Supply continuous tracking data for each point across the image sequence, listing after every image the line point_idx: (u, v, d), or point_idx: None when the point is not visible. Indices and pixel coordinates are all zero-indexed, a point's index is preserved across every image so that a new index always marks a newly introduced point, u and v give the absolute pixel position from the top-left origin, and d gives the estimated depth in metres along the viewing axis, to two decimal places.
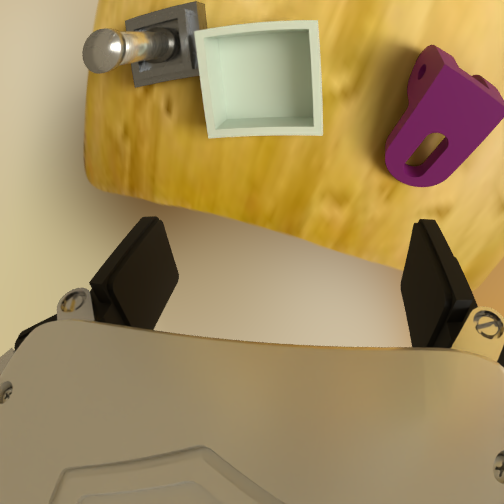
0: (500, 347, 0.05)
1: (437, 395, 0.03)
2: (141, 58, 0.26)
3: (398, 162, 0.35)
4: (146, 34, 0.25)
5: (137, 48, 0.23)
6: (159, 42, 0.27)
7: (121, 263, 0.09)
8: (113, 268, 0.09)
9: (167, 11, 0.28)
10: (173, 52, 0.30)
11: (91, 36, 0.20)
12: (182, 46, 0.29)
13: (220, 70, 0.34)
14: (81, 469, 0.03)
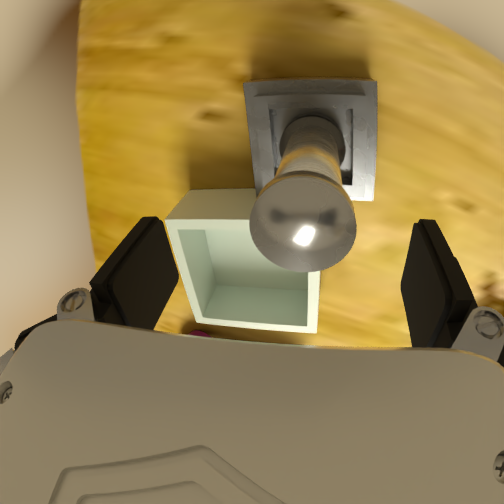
0: (500, 347, 0.05)
1: (437, 395, 0.03)
2: None
3: None
4: None
5: None
6: None
7: (121, 263, 0.09)
8: (113, 268, 0.09)
9: (369, 158, 0.22)
10: None
11: (347, 214, 0.12)
12: None
13: None
14: (81, 469, 0.03)
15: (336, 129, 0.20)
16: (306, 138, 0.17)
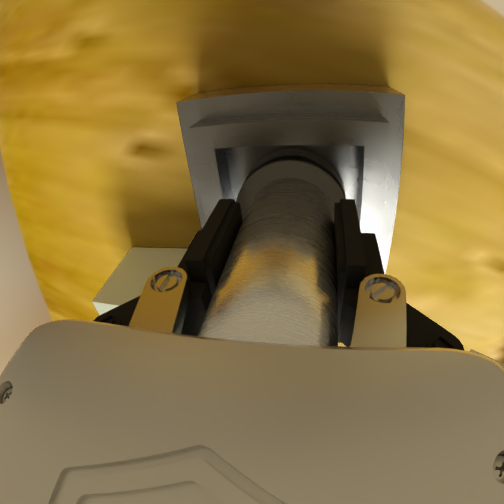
0: (404, 306, 0.07)
1: (437, 395, 0.03)
2: None
3: None
4: None
5: None
6: None
7: (214, 241, 0.09)
8: (208, 245, 0.09)
9: (385, 220, 0.14)
10: None
11: None
12: None
13: None
14: (81, 469, 0.03)
15: (333, 184, 0.12)
16: (272, 225, 0.09)
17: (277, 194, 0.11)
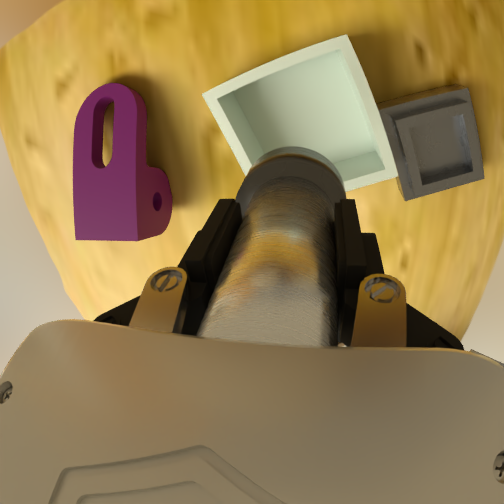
0: (404, 306, 0.07)
1: (437, 395, 0.03)
2: None
3: (120, 102, 0.28)
4: None
5: None
6: None
7: (214, 241, 0.09)
8: (208, 245, 0.09)
9: None
10: None
11: None
12: (412, 149, 0.25)
13: (362, 112, 0.27)
14: (81, 469, 0.03)
15: (336, 186, 0.12)
16: (277, 223, 0.09)
17: (281, 192, 0.11)
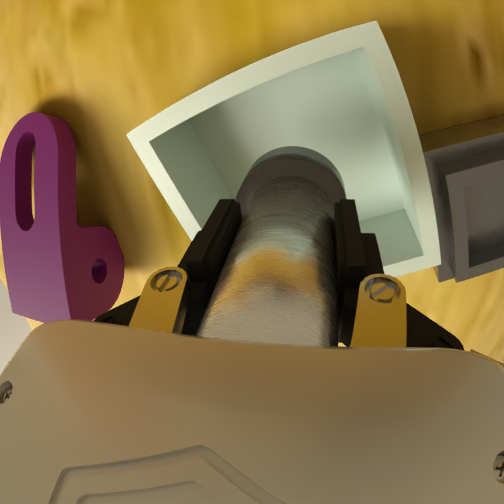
0: (404, 306, 0.07)
1: (437, 395, 0.03)
2: None
3: (41, 140, 0.19)
4: None
5: None
6: None
7: (214, 241, 0.09)
8: (208, 245, 0.09)
9: None
10: None
11: None
12: (463, 219, 0.15)
13: (390, 153, 0.17)
14: (81, 469, 0.03)
15: (336, 186, 0.12)
16: (277, 223, 0.09)
17: (281, 191, 0.11)
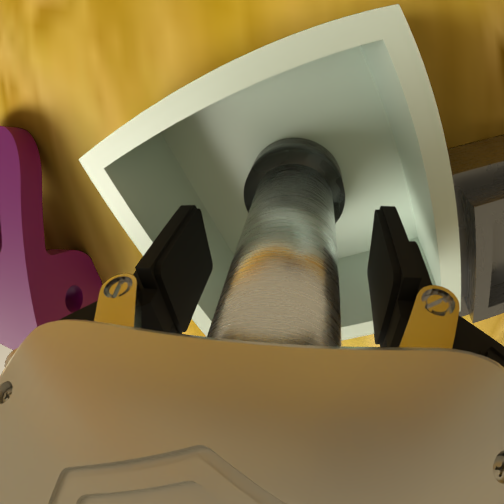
0: (455, 321, 0.06)
1: (437, 395, 0.03)
2: None
3: (4, 158, 0.16)
4: None
5: None
6: None
7: (166, 249, 0.09)
8: (159, 253, 0.09)
9: None
10: None
11: None
12: (489, 257, 0.12)
13: (405, 173, 0.14)
14: (81, 469, 0.03)
15: (334, 171, 0.13)
16: (284, 202, 0.11)
17: (286, 176, 0.12)
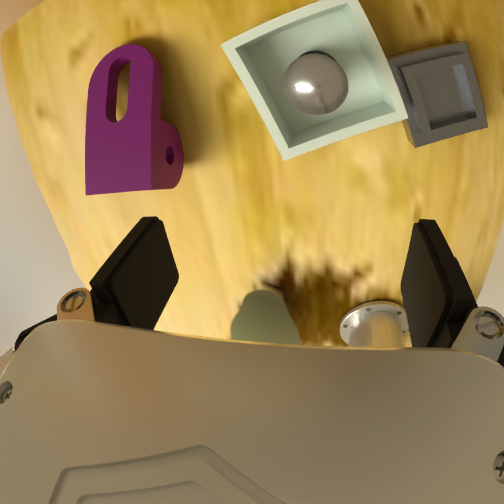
0: (500, 347, 0.05)
1: (437, 395, 0.03)
2: None
3: (136, 60, 0.28)
4: None
5: None
6: None
7: (121, 263, 0.09)
8: (113, 268, 0.09)
9: None
10: None
11: (342, 75, 0.17)
12: (418, 95, 0.24)
13: (370, 65, 0.26)
14: (81, 469, 0.03)
15: (333, 59, 0.25)
16: None
17: None
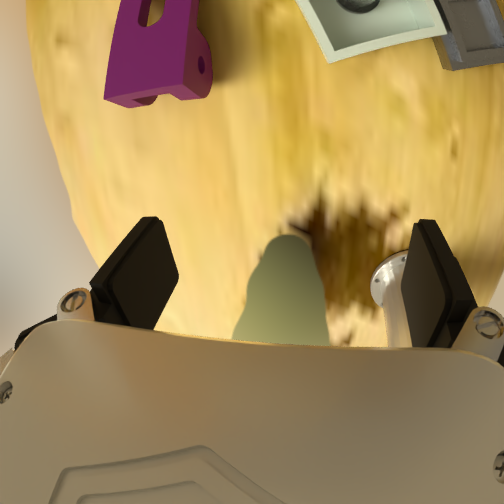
0: (500, 347, 0.05)
1: (437, 395, 0.03)
2: None
3: None
4: None
5: None
6: (362, 3, 0.21)
7: (121, 263, 0.09)
8: (113, 268, 0.09)
9: (477, 62, 0.22)
10: (344, 7, 0.24)
11: None
12: (453, 19, 0.19)
13: None
14: (81, 469, 0.03)
15: None
16: None
17: None
